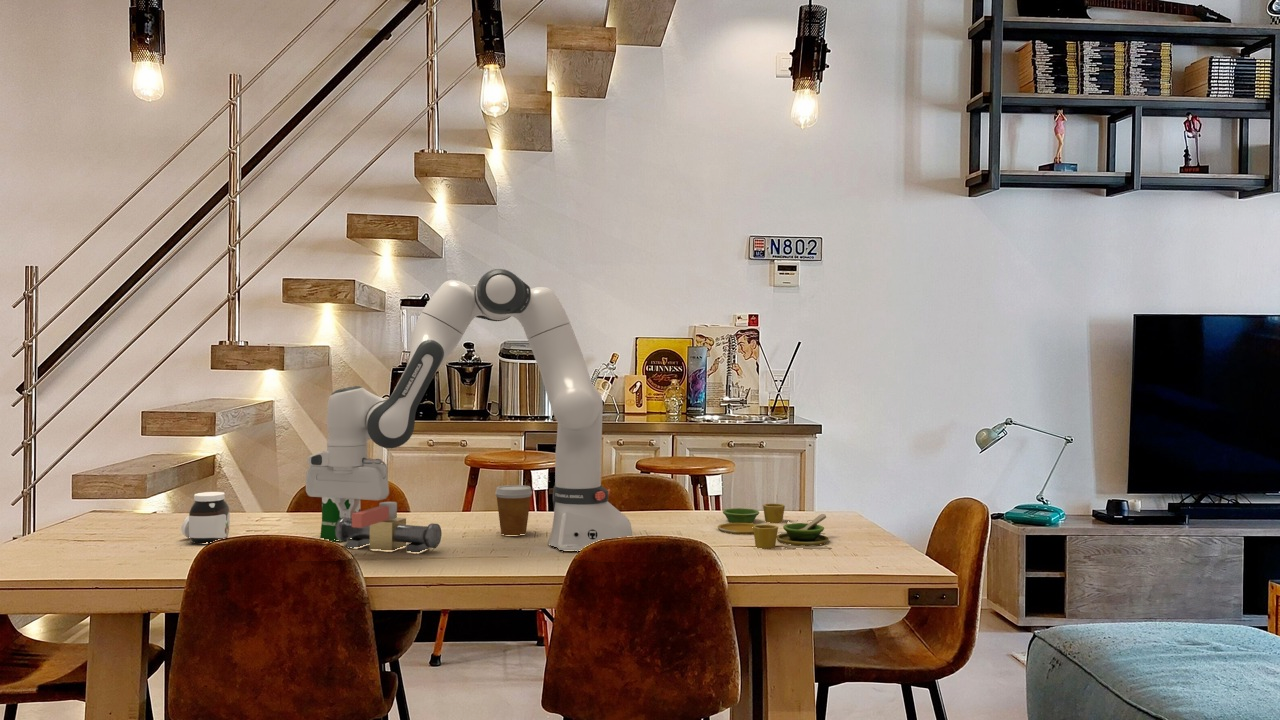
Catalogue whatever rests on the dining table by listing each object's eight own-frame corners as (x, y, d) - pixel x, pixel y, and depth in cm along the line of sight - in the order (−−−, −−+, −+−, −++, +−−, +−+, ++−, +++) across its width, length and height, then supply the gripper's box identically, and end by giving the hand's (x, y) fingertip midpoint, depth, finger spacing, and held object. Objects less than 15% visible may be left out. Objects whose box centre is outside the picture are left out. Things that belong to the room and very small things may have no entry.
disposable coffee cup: (535, 531, 247) (535, 485, 247) (527, 538, 238) (528, 490, 238) (499, 530, 248) (499, 484, 248) (490, 537, 239) (490, 489, 239)
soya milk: (367, 537, 239) (367, 457, 239) (340, 543, 231) (340, 461, 231) (341, 533, 243) (341, 455, 243) (313, 540, 235) (313, 458, 235)
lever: (385, 516, 227) (385, 501, 227) (400, 517, 226) (400, 502, 226) (348, 526, 213) (348, 511, 213) (364, 528, 212) (364, 512, 212)
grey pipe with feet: (441, 550, 224) (442, 520, 223) (428, 555, 218) (428, 525, 218) (349, 543, 231) (349, 514, 231) (334, 548, 226) (334, 518, 226)
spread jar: (216, 545, 228) (216, 497, 228) (168, 545, 228) (168, 497, 228) (237, 535, 240) (237, 489, 240) (192, 535, 240) (192, 489, 240)
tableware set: (835, 553, 225) (835, 527, 225) (716, 551, 227) (717, 524, 227) (817, 521, 266) (817, 499, 266) (717, 519, 268) (717, 497, 268)
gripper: (394, 457, 218) (394, 518, 218) (318, 454, 225) (318, 513, 225) (378, 460, 212) (378, 522, 212) (301, 457, 219) (301, 517, 219)
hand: (347, 517), depth 219 cm, fingers closed
